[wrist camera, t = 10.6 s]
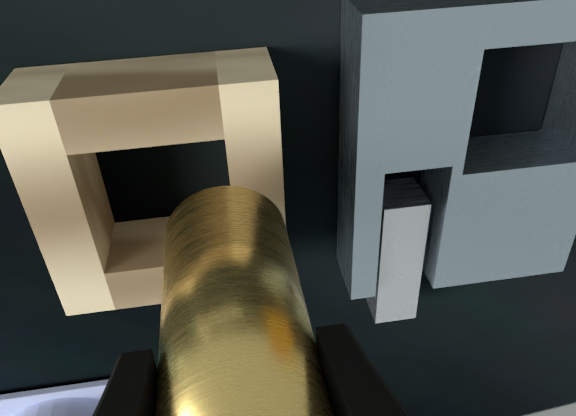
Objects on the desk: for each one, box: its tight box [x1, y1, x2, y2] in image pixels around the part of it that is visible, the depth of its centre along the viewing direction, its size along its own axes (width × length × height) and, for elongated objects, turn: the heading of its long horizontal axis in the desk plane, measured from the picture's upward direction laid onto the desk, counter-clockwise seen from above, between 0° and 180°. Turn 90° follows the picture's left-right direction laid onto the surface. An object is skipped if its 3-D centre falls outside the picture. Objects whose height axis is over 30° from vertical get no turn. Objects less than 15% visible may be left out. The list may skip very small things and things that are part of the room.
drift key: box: [366, 177, 431, 323], centre depth 22 cm, size 6×2×2 cm, turn 2°
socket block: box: [337, 0, 576, 300], centre depth 19 cm, size 11×9×3 cm
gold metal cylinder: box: [155, 186, 334, 416], centre depth 12 cm, size 3×3×8 cm
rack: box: [0, 47, 286, 316], centre depth 18 cm, size 8×8×3 cm
